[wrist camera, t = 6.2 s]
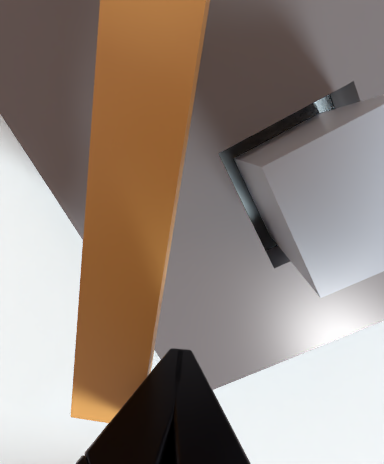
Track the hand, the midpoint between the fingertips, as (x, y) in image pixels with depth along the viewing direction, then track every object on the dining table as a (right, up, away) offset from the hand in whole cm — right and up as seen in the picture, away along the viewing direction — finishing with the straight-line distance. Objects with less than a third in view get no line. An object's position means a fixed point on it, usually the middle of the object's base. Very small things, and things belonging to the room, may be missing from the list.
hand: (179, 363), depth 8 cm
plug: (+5, +6, +6) cm, 9 cm away
